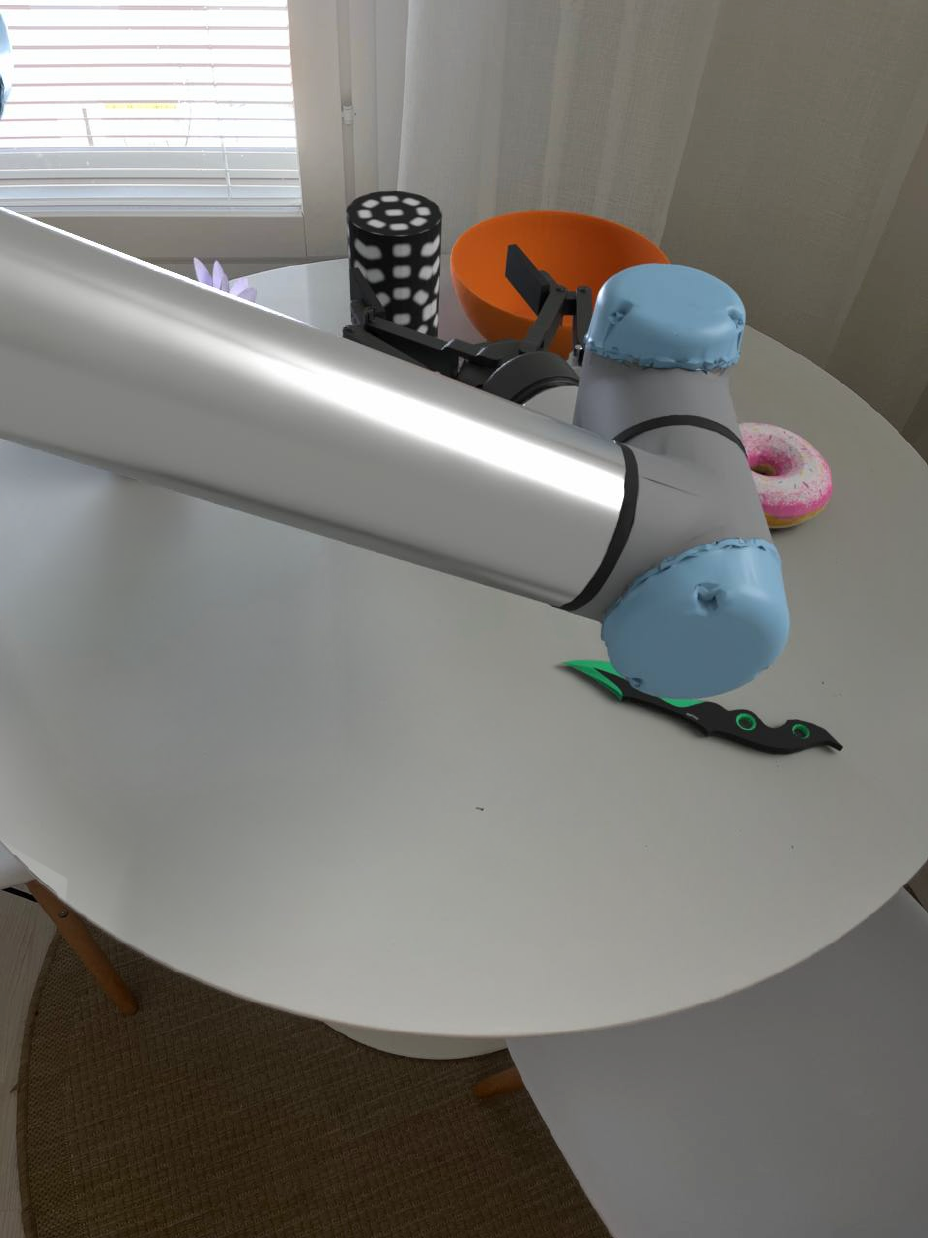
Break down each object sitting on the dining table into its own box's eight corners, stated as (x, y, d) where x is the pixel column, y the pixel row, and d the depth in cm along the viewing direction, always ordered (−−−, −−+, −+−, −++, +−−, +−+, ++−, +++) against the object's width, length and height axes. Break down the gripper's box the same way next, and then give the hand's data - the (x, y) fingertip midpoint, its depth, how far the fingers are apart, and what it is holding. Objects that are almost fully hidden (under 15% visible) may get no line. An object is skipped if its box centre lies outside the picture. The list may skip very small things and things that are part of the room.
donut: (667, 458, 96) (678, 420, 92) (781, 443, 99) (796, 405, 95) (721, 547, 88) (736, 509, 84) (843, 528, 90) (863, 491, 86)
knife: (846, 736, 73) (833, 784, 70) (842, 741, 74) (829, 790, 71) (578, 627, 79) (556, 667, 76) (577, 633, 80) (555, 673, 77)
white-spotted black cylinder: (360, 430, 91) (352, 238, 76) (350, 381, 96) (340, 192, 81) (442, 423, 92) (450, 233, 77) (427, 375, 98) (432, 188, 82)
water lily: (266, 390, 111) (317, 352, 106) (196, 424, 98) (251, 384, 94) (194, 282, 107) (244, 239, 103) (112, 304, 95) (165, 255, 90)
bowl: (659, 302, 116) (677, 225, 108) (650, 421, 100) (671, 341, 92) (466, 274, 118) (471, 197, 110) (427, 386, 102) (429, 305, 94)
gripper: (372, 509, 61) (288, 337, 73) (689, 436, 68) (564, 291, 80) (370, 418, 55) (279, 248, 67) (717, 349, 62) (577, 207, 74)
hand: (434, 271), depth 74 cm, fingers open, 13 cm apart
